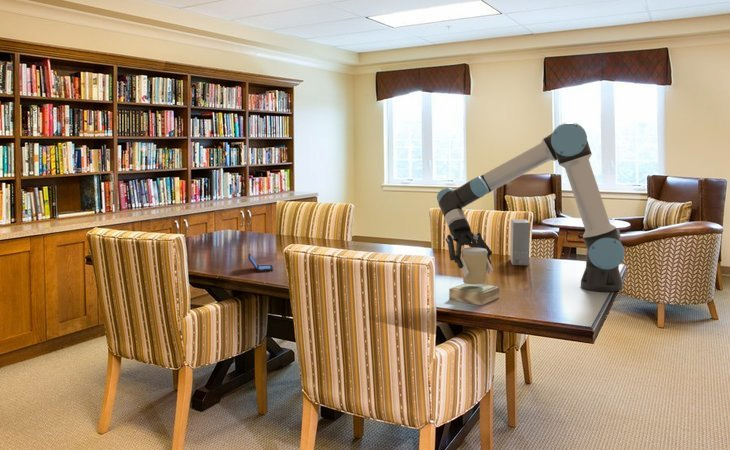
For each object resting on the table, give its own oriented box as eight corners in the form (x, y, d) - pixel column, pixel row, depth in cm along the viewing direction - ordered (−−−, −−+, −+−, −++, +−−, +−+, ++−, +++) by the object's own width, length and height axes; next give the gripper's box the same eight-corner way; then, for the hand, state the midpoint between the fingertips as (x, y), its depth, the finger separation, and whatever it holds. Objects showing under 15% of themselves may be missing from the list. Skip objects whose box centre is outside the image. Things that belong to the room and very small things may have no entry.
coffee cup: (491, 281, 216) (491, 248, 214) (481, 286, 208) (482, 252, 206) (467, 278, 221) (467, 246, 219) (456, 283, 213) (457, 250, 211)
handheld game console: (273, 272, 269) (272, 256, 268) (248, 273, 267) (248, 257, 266) (272, 267, 281) (271, 251, 280) (249, 268, 279) (248, 252, 278)
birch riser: (499, 297, 215) (499, 286, 215) (481, 305, 206) (481, 293, 205) (468, 292, 224) (468, 281, 223) (449, 299, 214) (449, 287, 214)
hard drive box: (529, 265, 272) (530, 222, 270) (512, 265, 274) (512, 222, 271) (526, 259, 287) (526, 218, 285) (509, 259, 289) (510, 218, 286)
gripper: (479, 228, 230) (501, 277, 217) (428, 231, 223) (448, 282, 210) (486, 216, 224) (509, 265, 211) (434, 219, 217) (455, 270, 204)
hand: (478, 273), depth 211 cm, fingers closed on coffee cup, 9 cm apart
